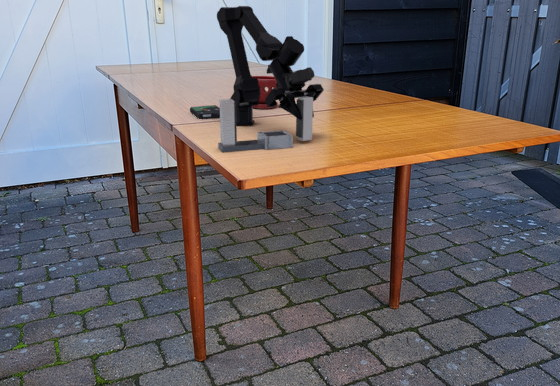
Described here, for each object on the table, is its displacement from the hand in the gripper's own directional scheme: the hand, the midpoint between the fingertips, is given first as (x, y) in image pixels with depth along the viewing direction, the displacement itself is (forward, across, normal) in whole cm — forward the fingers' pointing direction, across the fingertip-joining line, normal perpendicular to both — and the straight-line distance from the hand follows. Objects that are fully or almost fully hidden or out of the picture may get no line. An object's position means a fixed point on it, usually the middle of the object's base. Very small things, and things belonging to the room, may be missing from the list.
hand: (307, 118), depth 158 cm
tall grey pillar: (+4, 0, +6) cm, 7 cm away
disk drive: (-32, -2, +44) cm, 55 cm away
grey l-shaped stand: (+2, -15, +9) cm, 18 cm away
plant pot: (-33, +24, +45) cm, 61 cm away
